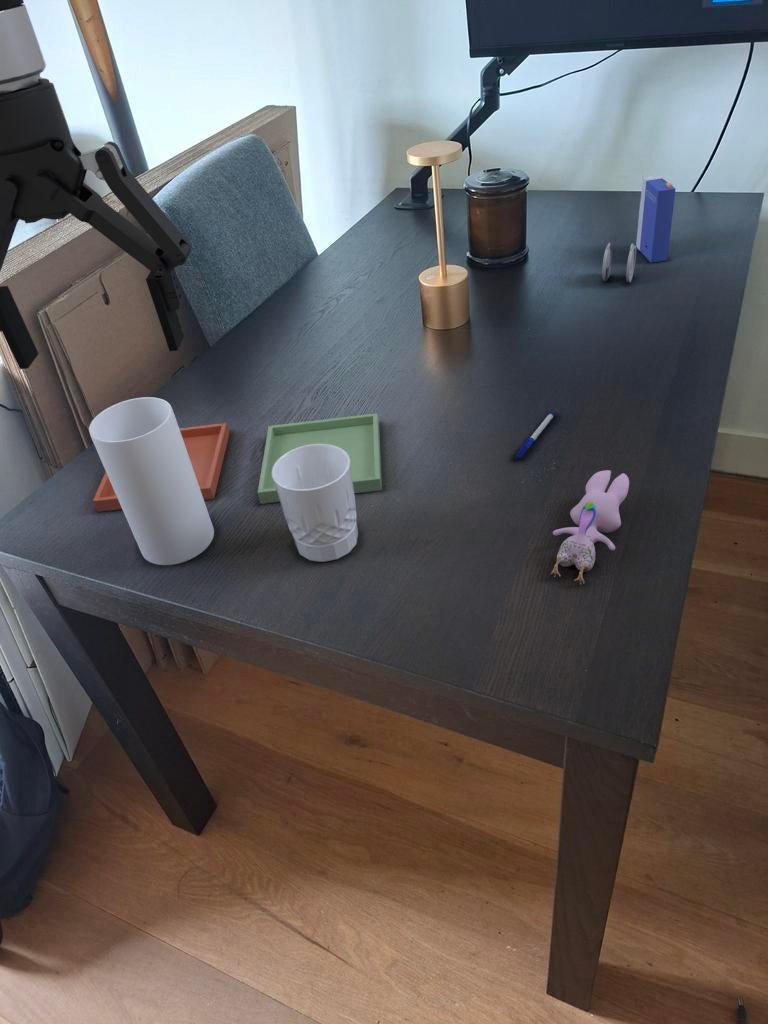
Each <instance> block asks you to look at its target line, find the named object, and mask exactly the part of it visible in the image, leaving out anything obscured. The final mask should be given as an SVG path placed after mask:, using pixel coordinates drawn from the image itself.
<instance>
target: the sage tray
mask: <svg viewBox="0 0 768 1024" xmlns="http://www.w3.org/2000/svg"><path fill="white" fill-rule="evenodd" d="M379 420H380V419H379V413H378V412H376V413H368V414H367V413H366V414H359V415H351V416H342V417H334V418H325V419H317V420H308V421H298V422H291V423H282V424H274V425H268V427H267V432H266V433H267V435H266V439H265V446H264V451H263V458H262V463H261V470H260V476H259V481H258V487H257V496H258V500H259V503H260V505H262V504H272V503H280V500H279V496H278V493H277V490H276V487H275V484H274V481H273V478H272V468H273V466H274V464H275V462H276V461H277V460H278V459H279V458H280V457H281V456H283V455H284V454H285V453H287V452H289V451H291V450H293V449H295V448H298V447H301V446H305V445H310V444H329V445H334V446H337V447H339V448H341V449H343V450H344V451H345V452H346V453H347V454H348V455H349V458H350V463H351V472H352V480H353V487H354V494H360V493H370V492H377V491H378V492H379V491H383V483H382V459H381V458H382V457H381V437H380V435H381V434H380V421H379Z"/></svg>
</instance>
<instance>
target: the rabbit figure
mask: <svg viewBox="0 0 768 1024" xmlns="http://www.w3.org/2000/svg"><path fill="white" fill-rule="evenodd" d="M611 475H612V471H611V470H608V469H606V470H600V471H597V472H595V473H594V474H593V475H592V476H591V477H590V478H589V479H588V481H587V483H586V485H585V495H583V497H582V498H581V500H580V501H579V502H578V504H576V505H575V506H574V507H572V509H570V512H569V514H570V518H571V519H572V521H573V523H574V524H576V526H570V527H568V526H567V527H561V528H559V529H555V530H553V531H552V535H553V536H554V537H555V536H556V537H557V536H560V535H563V534H568V535H569V534H570V536H569V537H567V538H566V539H565V540H564V541H563V542H562V543H561V545H560V547H559V549H558V552H557V555H556V561H555V562H556V563H555V564H554V566H553V569H552V570H551V573H550V575H552V574H554V578H556V576H557V575H558V576H559V577H561V574H560V572H559V568H558V567H559V565H560V566H561V567H565V568H568V567H571V566H575V567H576V569H577V570H578V571H579V572H578V576H577V577H576V578H575V579H574V582H575V581H579V585H580V586H581V585H582V583H583V584H585V582H586V581H585V579H584V577H583V573H588V572H589V571H591V569H593V567H594V565H595V562H596V547H595V545H594V544H596V543H598V542H601V543H603V544H605V545H606V546H607V547H608V549H609V550H610V551H612V552H613V551H615V550H616V546H615V544H614V543H613V542H612V541H611V539H609V538H608V537H607V536H606V535H604V534H609V533H613V532H615V531H617V530H618V529H619V528H620V527H621V525H622V520H621V516H620V515H621V514H620V509H619V508H620V505H621V504H622V503H623V502H624V500H625V499H626V498H627V495H628V493H629V487H630V479H629V477H628V475H627V474H626V473H623V472H622V473H621V474H619V475H618V476H617V477H616V478H614V479H613V481H612V482H611V484H610V486H609V487H608V485H609V482H610V480H611ZM607 488H608V489H607ZM606 490H607V491H606Z"/></svg>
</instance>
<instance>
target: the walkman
mask: <svg viewBox="0 0 768 1024" xmlns="http://www.w3.org/2000/svg"><path fill="white" fill-rule="evenodd" d="M676 190H677V189H676V188H675V187H674V185H673V183H671V182H668V181H667V180H666V179H664V178H663V177H662V176H661V175H659V174H657V175H652V176H651V175H648V176H642V181H641V190H640V191H641V192H640V200H639V212H638V222H637V231H636V232H637V233H636V243H635V246H636V249H637V250H638V251H639V252H640V253H641V254H642V255H643V256H644V257H645V258H646V259H647V260H648V261H649V262H650V263H657V262H659V263H660V262H666V261H668V256H669V247H670V241H671V240H670V239H671V231H672V224H673V223H672V221H673V216H674V215H673V213H674V207H675V196H676Z"/></svg>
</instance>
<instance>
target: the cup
mask: <svg viewBox="0 0 768 1024" xmlns="http://www.w3.org/2000/svg"><path fill="white" fill-rule="evenodd" d="M179 428H180V427H179V424H178V420H177V418H176V415H175V413H174V409H173V407H172V406H171V404H170V403H169V402H168V401H167V400H165V399H162V398H159V397H155V396H154V397H151V396H145V397H144V396H143V397H136V398H130V399H127V400H122V401H120V402H118V403H115V404H113V405H111V406H109V407H107V408H105V409H104V410H103V411H101V412H100V413H98V414H97V415H96V416H95V417H94V418H93V419H92V420H91V422H90V424H89V427H88V431H89V436H90V438H91V441H92V442H93V443H92V444H93V445H94V447H95V449H96V452H97V454H98V456H99V459H100V462H101V464H102V466H103V468H104V470H105V472H106V473H107V475H108V477H109V480H110V482H111V484H112V487H113V489H114V491H115V493H116V496H117V498H118V500H119V503H120V505H121V507H122V509H121V510H122V512H123V515H124V516H125V519H126V522H127V523H128V525H129V528H130V530H131V533H132V535H133V537H134V539H135V542H136V544H137V546H138V548H139V549H138V550H139V551H140V553H141V555H142V557H143V558H144V559H145V560H146V561H147V562H148V563H151V564H154V565H159V566H173V565H179V564H181V563H185V562H188V561H189V560H191V559H194V558H196V557H197V556H199V555H201V554H202V553H203V552H204V551H205V550H206V549H208V548H209V546H210V545H211V543H212V541H213V539H214V536H215V529H214V525H213V522H212V520H211V517H210V514H209V511H208V508H207V505H206V502H205V500H204V499H203V496H202V493H201V490H200V487H199V485H198V482H197V479H196V476H195V473H194V470H193V467H192V464H191V461H190V458H189V455H188V453H187V450H186V447H185V444H184V441H183V438H182V435H181V432H180V429H179Z"/></svg>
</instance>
